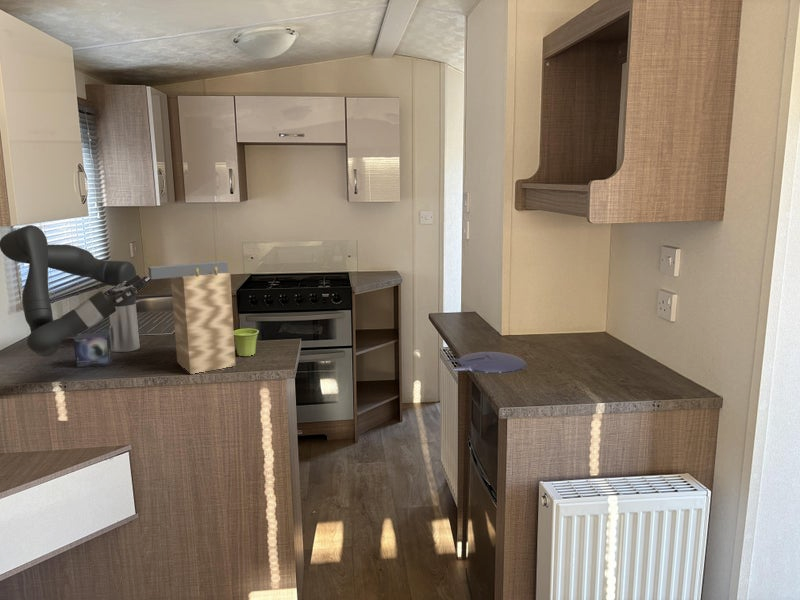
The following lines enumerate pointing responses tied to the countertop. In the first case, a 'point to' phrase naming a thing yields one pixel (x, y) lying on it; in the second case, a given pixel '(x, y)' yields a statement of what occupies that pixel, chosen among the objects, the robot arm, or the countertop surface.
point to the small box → (92, 349)
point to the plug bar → (186, 270)
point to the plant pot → (245, 341)
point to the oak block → (203, 321)
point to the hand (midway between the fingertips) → (142, 279)
